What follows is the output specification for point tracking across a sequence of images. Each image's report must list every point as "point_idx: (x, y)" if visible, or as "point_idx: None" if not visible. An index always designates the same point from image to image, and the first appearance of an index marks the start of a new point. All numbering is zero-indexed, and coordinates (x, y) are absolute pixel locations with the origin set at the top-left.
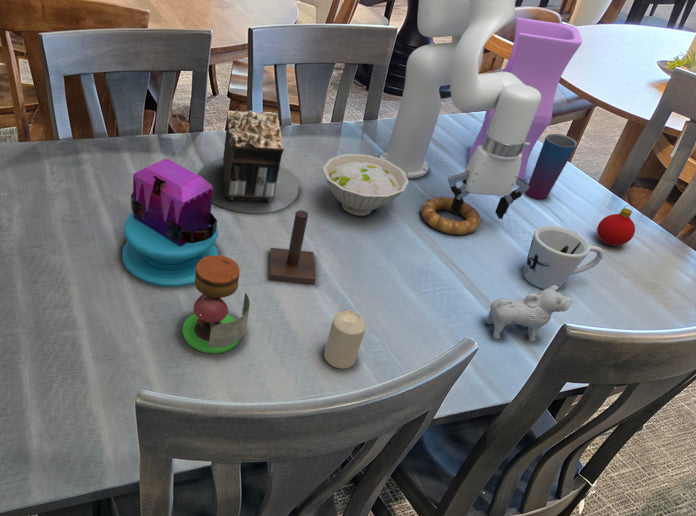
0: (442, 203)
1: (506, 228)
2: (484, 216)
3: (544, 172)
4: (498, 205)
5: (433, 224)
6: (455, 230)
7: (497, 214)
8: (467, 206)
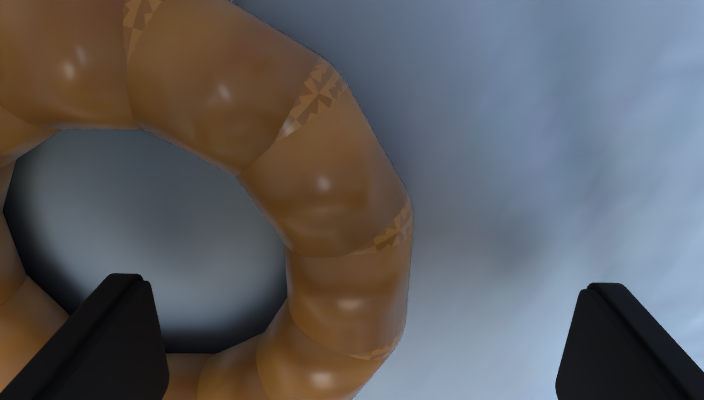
0: (19, 134)
1: (632, 264)
2: (519, 114)
3: None
4: (628, 369)
5: None
6: None
7: (571, 352)
8: (291, 211)
